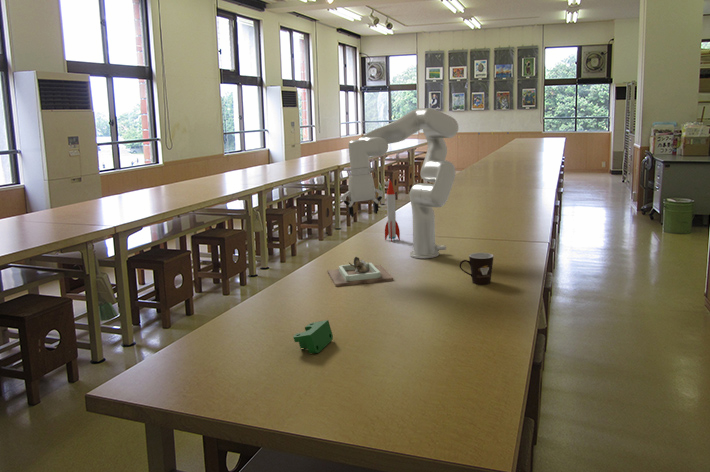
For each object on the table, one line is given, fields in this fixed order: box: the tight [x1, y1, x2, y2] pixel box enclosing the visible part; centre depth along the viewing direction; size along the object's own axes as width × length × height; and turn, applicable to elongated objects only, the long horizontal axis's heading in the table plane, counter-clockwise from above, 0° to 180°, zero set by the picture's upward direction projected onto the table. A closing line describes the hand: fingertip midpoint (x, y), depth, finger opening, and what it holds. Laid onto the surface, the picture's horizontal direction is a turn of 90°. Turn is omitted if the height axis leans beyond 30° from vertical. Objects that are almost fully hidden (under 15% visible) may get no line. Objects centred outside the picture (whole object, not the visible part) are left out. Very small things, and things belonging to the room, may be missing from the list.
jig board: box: [327, 262, 394, 287], centre depth 218 cm, size 22×20×3 cm
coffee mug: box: [459, 252, 494, 286], centre depth 203 cm, size 12×9×10 cm
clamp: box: [293, 319, 334, 354], centre depth 153 cm, size 12×6×9 cm, turn 152°
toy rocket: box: [384, 179, 401, 243], centre depth 276 cm, size 6×6×30 cm
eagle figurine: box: [348, 256, 369, 274], centre depth 216 cm, size 8×7×9 cm
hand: (363, 214), depth 222 cm, fingers open, 9 cm apart
